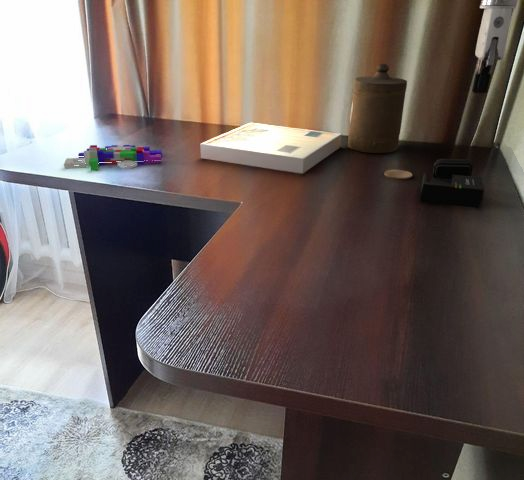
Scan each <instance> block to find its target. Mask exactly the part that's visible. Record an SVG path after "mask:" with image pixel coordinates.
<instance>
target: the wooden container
mask: <svg viewBox="0 0 524 480" xmlns="http://www.w3.org/2000/svg"><path fill="white" fill-rule="evenodd" d="M389 70H390V67H389V65H387V63H380V64H379V65H377V66H376V72H375V74H374V75H371V76H370V75H369V76H368V75H367V76H359V77H358V76H357V77H356V78H355V79H354V83H353V85H354V86H353V93H352V94H353V95H352V103H351V109H350V118H349V128H348V129H349V130H348V140H347V147H348V148H350V149H351V150H354V151H356V152H361V153H366V154H387V153H392V152H395V151H397V150H398V148H399V140H400V135H401V129H402V123H403V122H402V121H403V113H404V105H405V99H406V92H407V86H408V80H406V79H403V78H399V77H392V76H390V75H389V73H388V72H389Z"/></svg>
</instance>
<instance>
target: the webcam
mask: <svg viewBox="0 0 524 480" xmlns="http://www.w3.org/2000/svg"><path fill="white" fill-rule="evenodd" d="M473 171H474V162H473V161H472V160H471V159H460V158H459V159H456V158H454V159H453V158H452V159H450V158H440V159H437V160H436V161H435V162H434V164H433V169H432V177H431V178H430V180H429V182H434V183H444V184H451V180H452V176H453V175H462V176H472V174H473Z"/></svg>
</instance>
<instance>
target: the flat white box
mask: <svg viewBox="0 0 524 480" xmlns="http://www.w3.org/2000/svg"><path fill="white" fill-rule="evenodd" d="M342 137H343V134H342V133H339V132H330V131H322V130H314V129H313V130H312V129H307V128H305V129H304V128H298V127H289V126H281V125H271V124H270V125H269V124H265V123H254V122H249V123H246V124H244V125H241V126H240V127H237V128H235V129H232V130H229V131H228V132H225V133H222V134H220V135H218V136H215V137H212V138H211V139H208V140H206V141H203V142H201V143H199V148H200V158H201V159H204V160H211V161H218V162H224V163H231V164H237V165H243V166H250V167H257V168H262V169H263V168H264V169H268V170H269V169H270V170H275V171H282V172H288V173H295V174H302V175H303V174H305V173H306V172H307V171H309V170H310V169H311V168H313V167H315V166H316V165H317V164H318V163H320V162H322V161H323V160H324V159H326V158H327V157H329V156H330V155H331V154H333V153H334V152H335V151H337V150H339V149H340V148H341V145H342Z"/></svg>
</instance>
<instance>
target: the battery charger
mask: <svg viewBox="0 0 524 480" xmlns="http://www.w3.org/2000/svg"><path fill="white" fill-rule="evenodd" d="M421 179H422V180H421V187H420V196H419V197H420V198H419V202H420V203H428V204H429V203H431V204H440V205H447V206H448V205H449V206H459V207H470V208H476V209H477V208H479V209H480V208H481V204H482V201H483V197H484V192H485V187H484V183H483V179H482V177H481V176H472V175H471V176H462V175H453V176H452V180H451V184H444V183H434V182H430V181H427V180H428V172H427V171H424V173H423V176H422V178H421Z"/></svg>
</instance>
